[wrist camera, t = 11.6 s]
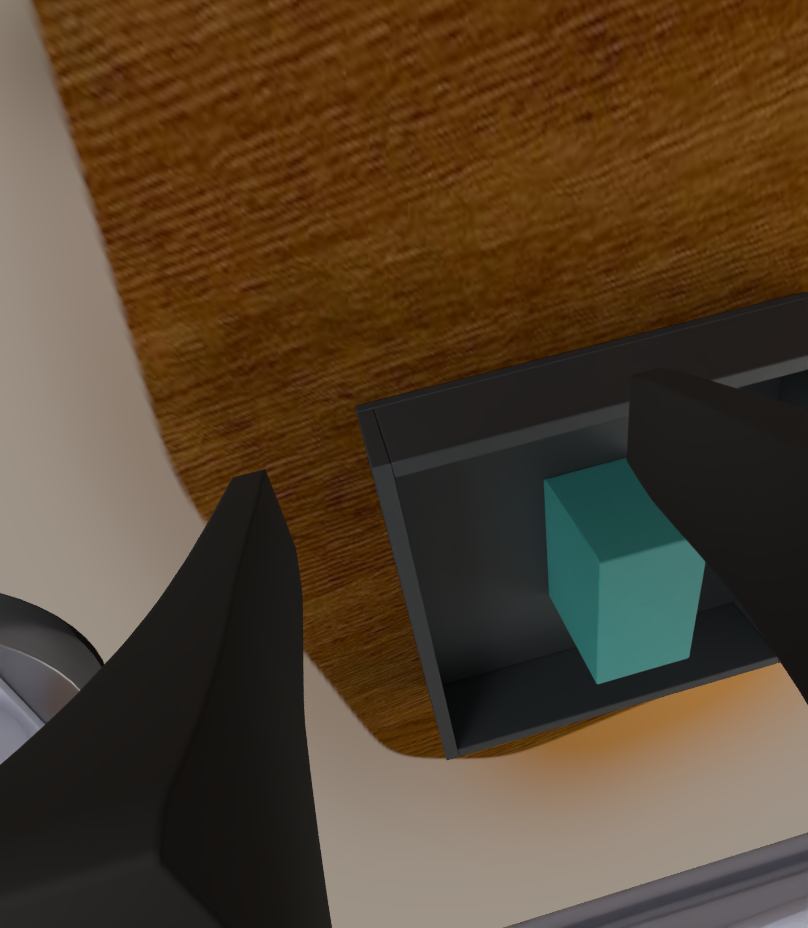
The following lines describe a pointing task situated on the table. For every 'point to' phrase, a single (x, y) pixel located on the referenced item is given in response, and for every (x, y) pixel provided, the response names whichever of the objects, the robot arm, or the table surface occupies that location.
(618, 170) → the table surface
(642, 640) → the teal block
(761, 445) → the robot arm
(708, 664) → the dark grey square tray
